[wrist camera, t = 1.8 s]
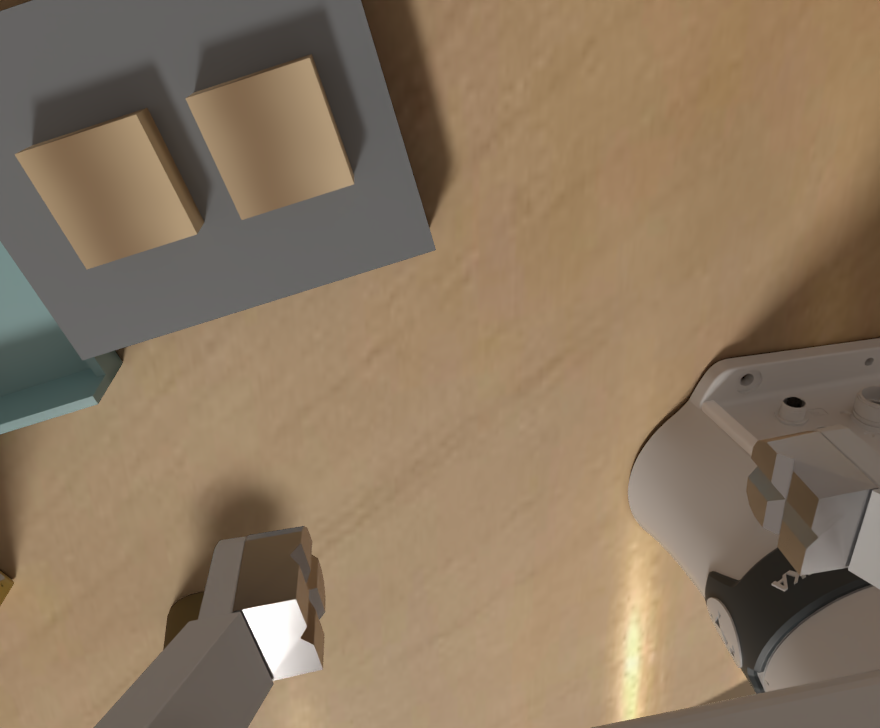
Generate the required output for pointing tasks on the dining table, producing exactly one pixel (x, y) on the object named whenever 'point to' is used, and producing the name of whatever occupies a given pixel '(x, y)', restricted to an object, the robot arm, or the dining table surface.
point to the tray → (41, 359)
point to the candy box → (4, 586)
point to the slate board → (196, 157)
